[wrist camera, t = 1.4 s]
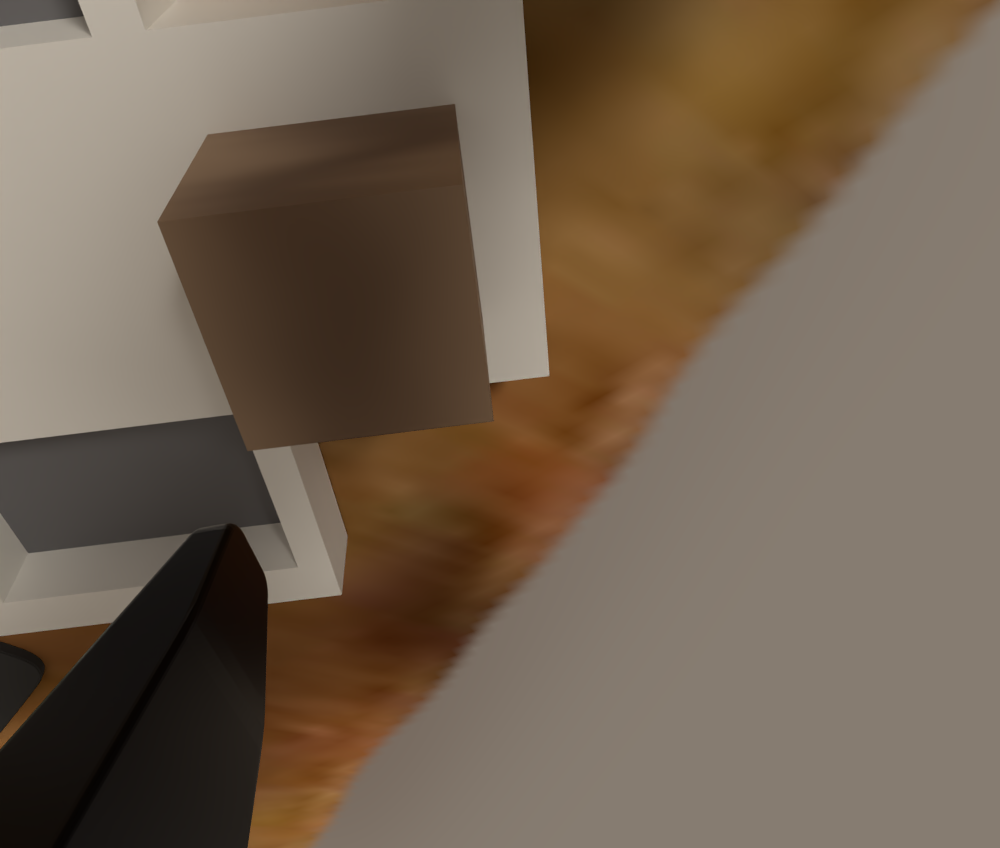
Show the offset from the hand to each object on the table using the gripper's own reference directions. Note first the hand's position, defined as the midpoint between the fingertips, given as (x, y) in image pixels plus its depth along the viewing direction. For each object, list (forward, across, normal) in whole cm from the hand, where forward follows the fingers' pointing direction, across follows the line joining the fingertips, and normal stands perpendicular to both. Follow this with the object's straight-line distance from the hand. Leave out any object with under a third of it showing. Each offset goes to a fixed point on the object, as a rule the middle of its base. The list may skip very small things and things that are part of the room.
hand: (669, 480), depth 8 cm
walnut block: (+11, +4, +2) cm, 12 cm away
